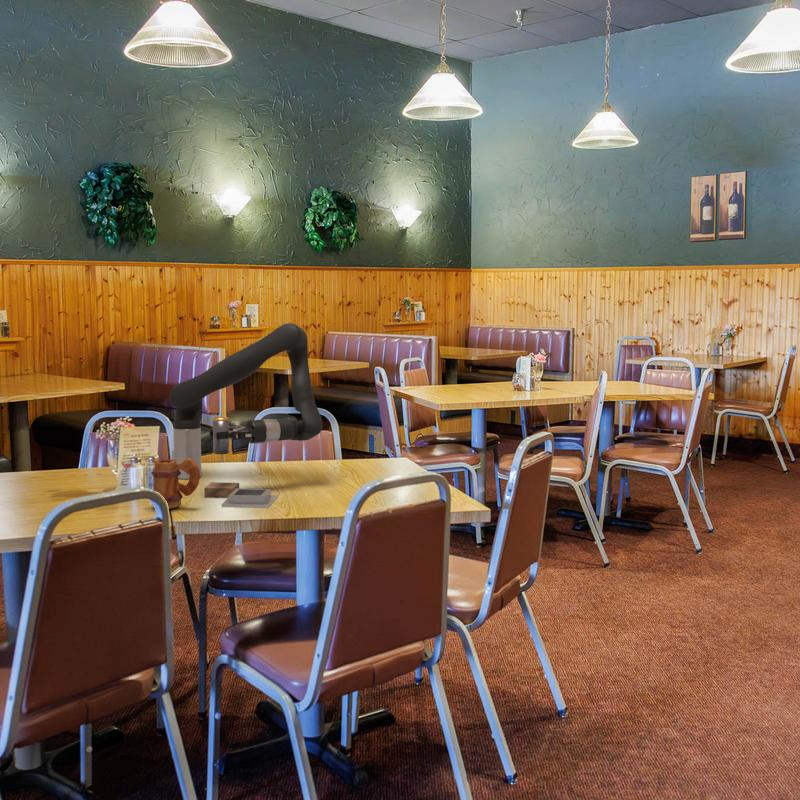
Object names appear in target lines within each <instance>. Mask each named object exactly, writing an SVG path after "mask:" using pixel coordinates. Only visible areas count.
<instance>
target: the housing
mask: <svg viewBox="0 0 800 800" xmlns="http://www.w3.org/2000/svg"><path fill="white" fill-rule="evenodd" d="M277 498H278V495H277V494H272V491H271V488H239V489H235V490H234V491H233V492H232V493H231V494H230V495H229V496H228V498H226V499H225V500H224V501H223V502H222V503H221V507H222V508H260V509H261V508H262V509H263V508H266V509H269V507H271V506H272V504H273V503H274V502H275V500H276V499H277Z"/></svg>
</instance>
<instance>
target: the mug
mask: <svg viewBox="0 0 800 800" xmlns="http://www.w3.org/2000/svg"><path fill="white" fill-rule="evenodd" d="M180 470H183V471H184V472H186V473H187V474H189V475H190V476H189V479H188V482H186V483H187V484H186V485H185V484H182V483H180V482H179V478H178V476H179V475H180V474H181V472H180ZM150 473H151V475H152V476H153V484H154V485H153V488H154V491H157V492H159V493H160V494H161V495H162V496H163V497H164V498H165V500H166V501H167V503H168V506H169V509H168V510H170V509H175V508H177V507H179V506H180V505H181V504H182V498H183V496H186V497H189V496H191V495H192V494H193V493H194V492H195V491H196V489H197V488H198V486H199V484H200V479H201V477H200V470H199V468H198V465H197V464H196V462H195V461H194V460H193V459H191V458H188V459H186V460H184V461H183V462H181V463H177V462H176V460H172V459H169V458H168V459H156V460H154V468H153V470H152V471H151V472H150ZM154 491H153V492H154Z"/></svg>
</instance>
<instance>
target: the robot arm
mask: <svg viewBox="0 0 800 800" xmlns="http://www.w3.org/2000/svg"><path fill="white" fill-rule="evenodd" d="M283 352H286V353H287V356H288V360H289V363H290V370H291V375H290V388H291V394H292V397H291V398H292V402H293V406H294V409H295V411H296V412H299V413H300V415H301V419H300V420H293V419H290V418H278V419H277V418H275V419H274V418H273V419H271V418H266V419H265V418H264V419H251V420H248V421H247V422H246V424H245V426H243V425H234V426H233V425H232V426H229V431H228V432H216V439H229V441H230V440H232V441H240V440H242V441H243V440H247V442H248V443H250V444H251V445H252V444H262V443H265V444H266V443H272V442H279V441H280V442H281V441H289V440H290V441H298V442H299V441H301V442H302V441H309V440H312V439H313V438H315V437H316V436H319V435H320V433H321V432H323V431H322V430H323V420H322V416H321V413H320V411H319V408H318V407H317V404H316V401H315V395H314V391H313V386H312V381H311V380H312V379H311V375H310V373H311V372H310V366H309V353H308V352H309V346H308V336H307V333H306V332H305V330H304V329H302V327H300V326H299V325H297V324H295V323H291V322H288V323H287V322H286V323H284V324H282V325H279V326H278V327H277V328H275V329H274V330H272V331H271V332H270V333H268V334H266V335H265V336H264V337H262V338H261V339H260V340H259V339H258V340H257V341H256V342H254V343H252V344H250V345H248V346H246V347H244V348H242V349H240V350H239V351H236V352H234V353H233V354H230V355H229V356H227V357H225V358H223V359H222V360H220V361H218V362H217V363H215V364H214V365H213V366H211V367H210V368H208V369H207V370H205V371H204V372H202V373H201V374H199V375H197V376H194V377H191V378H190V379H188V380H185V381H181V382H180V383H179V382H178V383H177V384H175V385H174V386H173V387H172V389H171V390H170V393H169V401H170V403H171V405H172V406H174V408H176V409H175V416H174V419H173V423H172V424H173V426H172V427H173V430H172V431H173V449H172V450H171V457H172V458H171V460H176V462H177V463H181V462H183V461H184V460H186V459H188V458H191V459H193V460H194V461H195V462H196V464H197V465H198V468H199V470H200V478H201V477H202V441H201V440H202V437H201V434H202V431H201V428H202V427H201V426H202V425H201V422H202V418H203V399H204V398H205V397H207V396H209V395H211V394H212V393H215V392H217V391H219V390H222V389H225V388H227V387H230V386H233V385H235V384H238V383H239V382H241V381H243V380H244V379H246V378H249V377H250V376H251V375H253V374H254V373H256V372H258V370H259V369H260V368H261V367H262V365H263V364H265V362H267V360H270V358H272V357H274V356H276V355H278V354H280V353H283ZM208 435H209V437H211V438H213V429H210V430H209V433H208ZM180 472H181V474H180V475H179V476H178V480H179V479H180V480H181V479H182V480H189V476H190V475H189V474H187V473H186V472H184V471H183V470H180Z"/></svg>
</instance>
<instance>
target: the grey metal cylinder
mask: <svg viewBox="0 0 800 800" xmlns="http://www.w3.org/2000/svg"><path fill="white" fill-rule="evenodd" d="M229 427H230V418H229V417H228V416H213V417H212V430H213V437H212V454H214V455H226V454H227V455H228V454H230V439H216V432H228V431H229Z"/></svg>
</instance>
